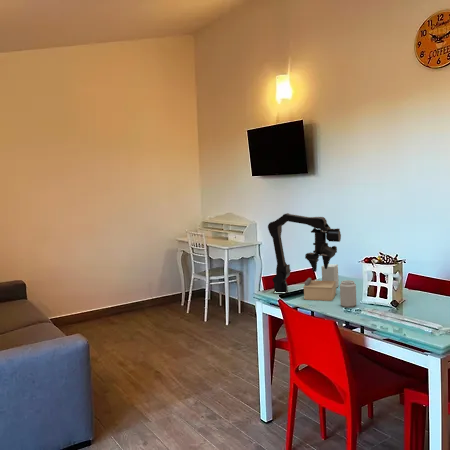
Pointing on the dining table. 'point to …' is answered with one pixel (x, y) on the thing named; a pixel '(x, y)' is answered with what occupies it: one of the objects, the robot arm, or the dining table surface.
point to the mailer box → (319, 294)
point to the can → (348, 293)
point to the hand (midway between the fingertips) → (320, 270)
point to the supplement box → (330, 273)
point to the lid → (319, 284)
